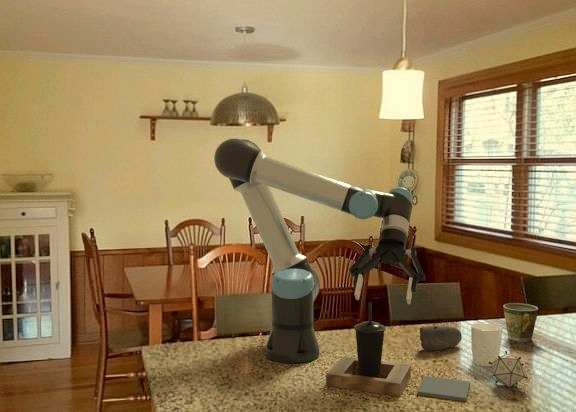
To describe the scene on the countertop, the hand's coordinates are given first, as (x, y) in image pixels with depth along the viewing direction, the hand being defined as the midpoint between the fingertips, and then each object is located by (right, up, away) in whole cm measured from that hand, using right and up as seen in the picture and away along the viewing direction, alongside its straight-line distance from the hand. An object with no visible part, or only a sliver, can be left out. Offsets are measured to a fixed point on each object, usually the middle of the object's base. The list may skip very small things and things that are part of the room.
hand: (382, 299), depth 157 cm
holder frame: (-4, -19, -8) cm, 21 cm away
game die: (+29, -20, -11) cm, 36 cm away
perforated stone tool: (+20, -18, +18) cm, 32 cm away
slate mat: (+13, -19, -13) cm, 27 cm away
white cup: (+29, -18, +6) cm, 35 cm away
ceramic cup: (+47, -17, +27) cm, 57 cm away
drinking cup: (-4, -19, -8) cm, 21 cm away
